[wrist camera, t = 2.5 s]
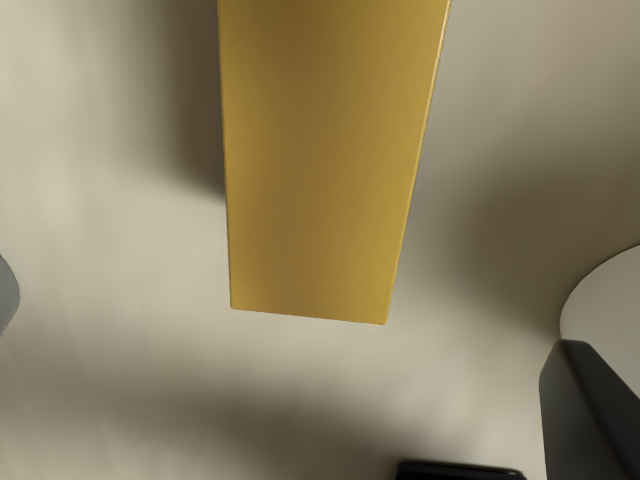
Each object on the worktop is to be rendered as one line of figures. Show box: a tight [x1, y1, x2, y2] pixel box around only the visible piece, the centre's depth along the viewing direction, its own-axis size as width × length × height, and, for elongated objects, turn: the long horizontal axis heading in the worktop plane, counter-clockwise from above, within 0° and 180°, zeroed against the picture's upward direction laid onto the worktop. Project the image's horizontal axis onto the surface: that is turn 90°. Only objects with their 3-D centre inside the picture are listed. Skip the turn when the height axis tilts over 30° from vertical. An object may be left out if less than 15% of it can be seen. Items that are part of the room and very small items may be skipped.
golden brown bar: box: [217, 0, 452, 325], centre depth 15 cm, size 4×13×4 cm, turn 176°
